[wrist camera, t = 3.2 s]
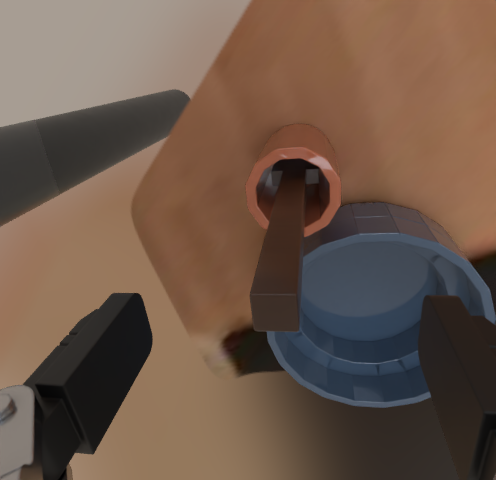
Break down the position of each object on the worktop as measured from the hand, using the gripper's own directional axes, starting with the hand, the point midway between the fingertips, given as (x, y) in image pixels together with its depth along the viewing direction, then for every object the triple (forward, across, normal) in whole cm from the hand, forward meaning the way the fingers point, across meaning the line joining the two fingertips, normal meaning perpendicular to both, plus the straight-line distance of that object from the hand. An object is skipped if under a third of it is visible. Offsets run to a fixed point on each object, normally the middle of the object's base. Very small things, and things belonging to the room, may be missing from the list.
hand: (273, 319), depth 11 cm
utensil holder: (+19, 0, 0) cm, 19 cm away
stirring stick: (+18, 0, 0) cm, 18 cm away
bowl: (+19, -5, +11) cm, 22 cm away
